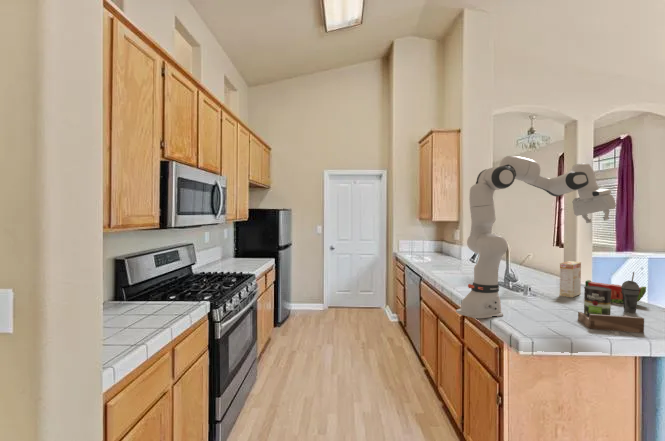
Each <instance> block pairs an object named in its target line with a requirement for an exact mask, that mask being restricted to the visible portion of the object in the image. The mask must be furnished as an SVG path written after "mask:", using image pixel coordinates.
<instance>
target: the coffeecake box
mask: <svg viewBox="0 0 665 441" xmlns="http://www.w3.org/2000/svg"><path fill="white" fill-rule="evenodd" d="M581 286H582V262H581V261H575V260H574V261H573V260H568V261H564V262H560V263H559V296H560V297H565V296H566V297H565V298H571V297H572V298H574V297H577V296H579V295H581V294H582V292H581V291H582V290H581V289H582V288H581Z"/></svg>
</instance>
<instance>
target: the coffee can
mask: <svg viewBox="0 0 665 441" xmlns="http://www.w3.org/2000/svg"><path fill="white" fill-rule="evenodd" d="M583 287H584V295H583V297H584V298H583V301H584V302H583V313H584V314H585V315H587V316H588V317H589V314H599V315H611V309H612V308H611V307H612V306H611V304H612V302H611V289H609V288H605V287H599V286H585V285H584V286H583Z"/></svg>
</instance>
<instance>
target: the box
mask: <svg viewBox="0 0 665 441" xmlns="http://www.w3.org/2000/svg"><path fill="white" fill-rule="evenodd" d="M577 312H578V314H577V320H578V321H579V322H581V323H582V324H583V325H585V326H586V327H587V328H589V330H600V331H612V332H613V331H614V332H626V333H638V334H639V333H641V334H644V333H645V318H644V317H641V316H640V317H639V316H629V315H628V314H623V315H611V314H610V315H599V314H589V317H588V316H587V315H585V314H584V312H582V311H577Z"/></svg>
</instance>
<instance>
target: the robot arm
mask: <svg viewBox="0 0 665 441" xmlns="http://www.w3.org/2000/svg"><path fill="white" fill-rule="evenodd" d="M515 180H516V181H517V180H518V181H520V182H521V181H522V182H524V183H525V184H528V185H529V186H533V187H536V188H538V189H541V190H543V191H545V192H546V193H547V194H549V195H550V196H553V197H560V196H563V195H565V194H569V193H572V192H575V191H577V195H578V197H575V198H574V199H573V200H572V210H573V213H574V215H575V216H576V217H577V216H578V217H579V216H581V217H582V218H583V219H584V220H585V222H586V224H591V223H592V219H591V218H589V216H588V214H589V215H590V214H593V213H598V212H603V213H604V216H602V219H603V221H608V220H610V217H609V215H610V211H611V210H613V209H616V206H617V204H616V201H615V198H614V197H613V195H612V193H611V189H610V188H600V187H599V185H598V183H597V177H596V174H595V172H594V169H593V167H592V166H591V164H589V163H586V162H585V163H584V162H583V163H578V164H574V165H573V166H572V167H571V169H570V170H568V171H567V172H566V173H564V174H561V175H558V176H556V177H550V178H549V177H546V176H543V175H541V165H540V164H539V163H538V162H537V161H536V160H533V159H532V158H531V159H530V158H527V157H522V156H518V155H506V156H504V157H503V158H502V159H501V160H500V163H499V166H495V167H490V168H487V169H484V170H482V171H480V172H479V174H478V175H477V177H476V181H475V184H472V186H471V187H470V189H469V199H468V200H469V210H470V212H469V213H470V219H471V220H470V221H471V223H470V224H471V225H470V232H469V233H470V234H469V237H468V238H467V239H466V245H467V247H468V249H469V250H470V251H471V252H473V253H474V254H478V255H479V256H478V259H477V263H476V264H475V265H474V267H473V282H472V284H470V283H469V284H468V283H467V288H468V289H471V290H470V292H468V293H467V295H466V296H465V297H463V298H462V300H461V304H460V305H461V306H460V308H458V309H455V312H456V313H457V314H459V315H461V316H465V317H468V318H473V319H474V318H475V319H479V320H480V319H485V318H487V319H488V318H493V317H492V316H497V317H504V312H502V304H501V297H500V295H499V291H500V284H499V268H500V264H501V261H502V258H503V256H504V255H505V254H506V253H507V251H508V248H509V246H508V242H507V240H506V239H505V238H504V237H503V236H502V235H499V234H495V233H493V232H492V231H493V225H494V223H495V221H496V210H495V204H494V203H495V202H494V192H495V191H499V190H504V189H508V188H509V187H510V186H512V184H514V182H515Z"/></svg>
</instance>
